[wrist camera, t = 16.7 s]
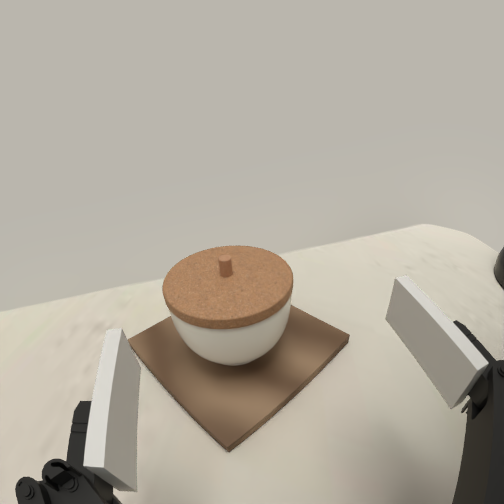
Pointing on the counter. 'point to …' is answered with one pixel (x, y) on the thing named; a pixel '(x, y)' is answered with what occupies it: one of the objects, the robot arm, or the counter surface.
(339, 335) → the walnut board
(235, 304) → the lidded jar
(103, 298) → the counter surface
